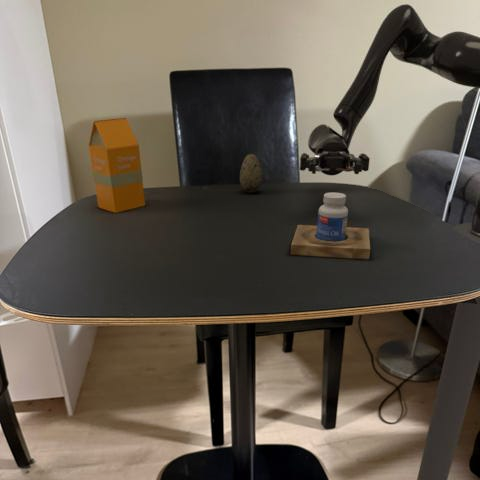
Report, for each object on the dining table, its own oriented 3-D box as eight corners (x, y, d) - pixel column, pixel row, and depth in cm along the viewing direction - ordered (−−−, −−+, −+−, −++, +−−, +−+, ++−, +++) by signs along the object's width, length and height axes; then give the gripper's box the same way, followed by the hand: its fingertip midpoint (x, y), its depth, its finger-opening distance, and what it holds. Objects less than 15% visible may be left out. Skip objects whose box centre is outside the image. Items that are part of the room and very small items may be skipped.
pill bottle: (312, 248, 91) (315, 196, 86) (320, 239, 95) (323, 190, 91) (340, 252, 89) (345, 199, 84) (347, 243, 93) (352, 192, 88)
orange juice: (145, 205, 119) (136, 118, 110) (115, 213, 114) (102, 122, 104) (127, 200, 124) (116, 116, 114) (97, 207, 118) (83, 119, 109)
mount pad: (367, 237, 96) (368, 228, 95) (369, 259, 85) (370, 249, 84) (297, 234, 98) (297, 224, 97) (290, 254, 88) (291, 244, 87)
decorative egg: (237, 194, 128) (237, 155, 123) (242, 189, 133) (242, 151, 128) (259, 195, 127) (260, 156, 122) (263, 190, 132) (264, 152, 127)
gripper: (361, 172, 111) (369, 188, 97) (299, 171, 113) (298, 187, 98) (365, 137, 107) (374, 149, 93) (301, 137, 109) (300, 148, 95)
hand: (335, 168), depth 96 cm, fingers open, 8 cm apart
